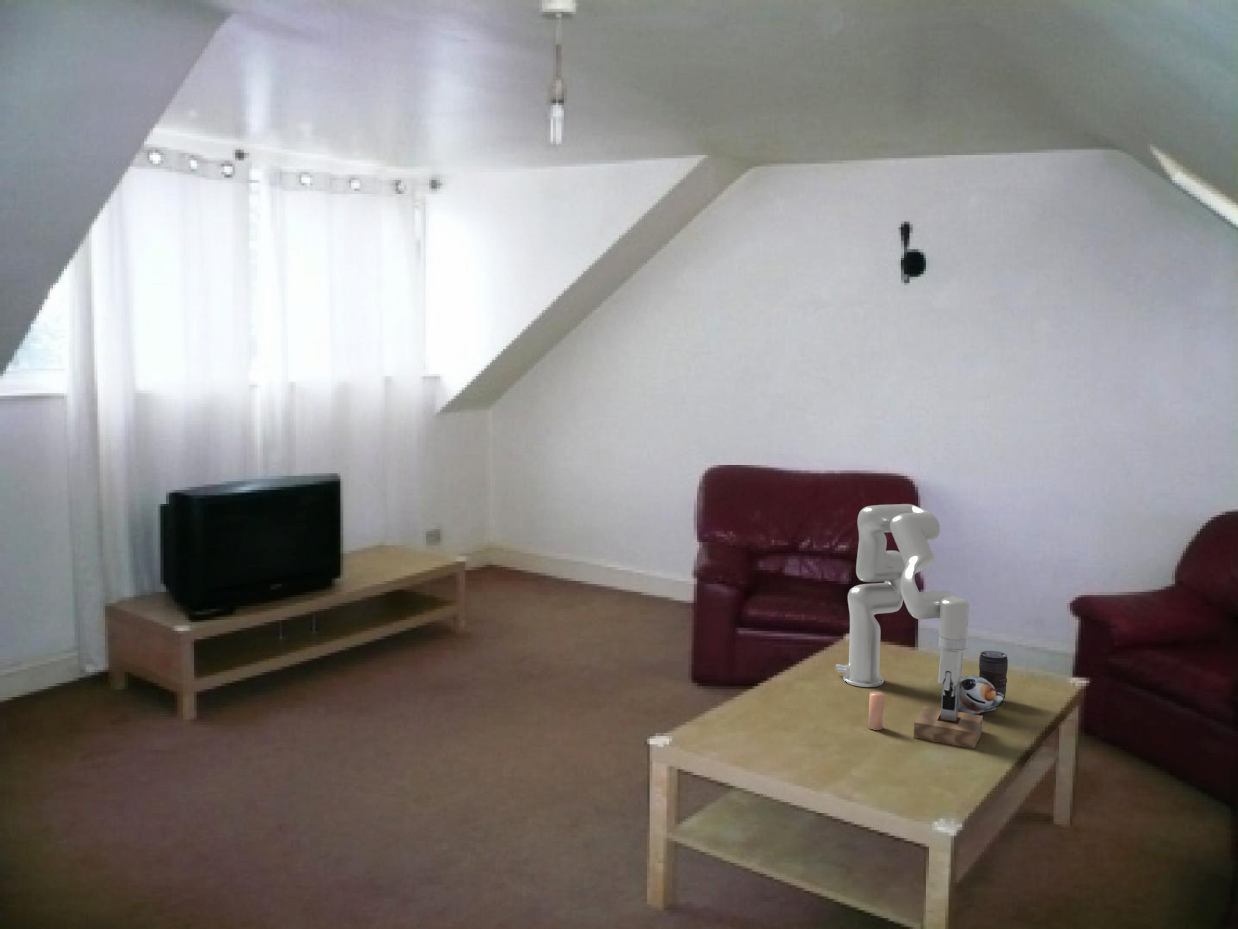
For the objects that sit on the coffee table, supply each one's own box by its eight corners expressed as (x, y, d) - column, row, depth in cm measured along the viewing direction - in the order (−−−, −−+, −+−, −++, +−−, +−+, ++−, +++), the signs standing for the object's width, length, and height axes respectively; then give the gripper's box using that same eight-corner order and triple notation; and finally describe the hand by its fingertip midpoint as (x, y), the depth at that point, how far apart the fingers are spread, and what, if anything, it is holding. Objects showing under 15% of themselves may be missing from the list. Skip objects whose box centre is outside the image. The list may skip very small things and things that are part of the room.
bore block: (913, 738, 284) (914, 722, 283) (923, 721, 296) (924, 706, 296) (974, 749, 277) (975, 732, 276) (982, 731, 289) (982, 715, 288)
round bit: (866, 729, 290) (868, 695, 289) (870, 724, 293) (871, 690, 292) (880, 732, 288) (882, 697, 287) (884, 727, 291) (885, 693, 290)
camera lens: (1001, 697, 316) (1004, 650, 314) (1008, 707, 308) (1011, 658, 306) (974, 696, 317) (976, 649, 315) (980, 706, 309) (983, 657, 307)
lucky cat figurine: (1000, 706, 308) (1013, 674, 300) (989, 733, 300) (1002, 701, 292) (951, 684, 314) (962, 652, 306) (939, 710, 306) (950, 678, 298)
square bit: (940, 718, 285) (942, 683, 284) (943, 714, 288) (944, 679, 287) (955, 721, 283) (957, 686, 282) (958, 716, 287) (959, 681, 285)
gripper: (944, 633, 292) (941, 695, 294) (932, 648, 277) (930, 714, 280) (971, 636, 289) (968, 699, 291) (961, 652, 274) (958, 719, 276)
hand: (949, 706), depth 285 cm, fingers closed on square bit, 4 cm apart
